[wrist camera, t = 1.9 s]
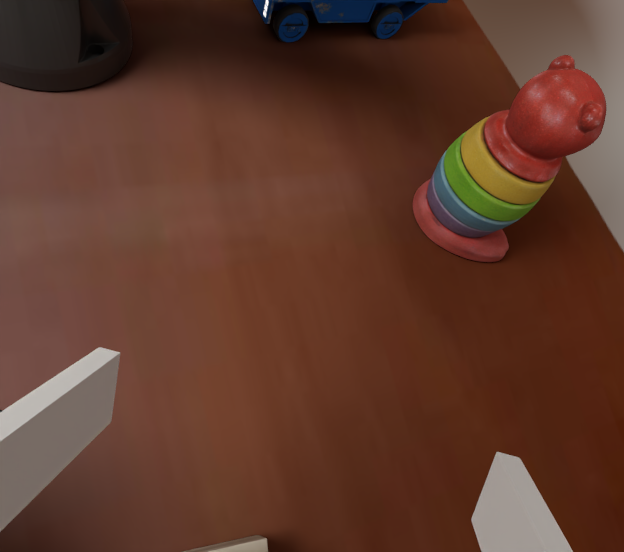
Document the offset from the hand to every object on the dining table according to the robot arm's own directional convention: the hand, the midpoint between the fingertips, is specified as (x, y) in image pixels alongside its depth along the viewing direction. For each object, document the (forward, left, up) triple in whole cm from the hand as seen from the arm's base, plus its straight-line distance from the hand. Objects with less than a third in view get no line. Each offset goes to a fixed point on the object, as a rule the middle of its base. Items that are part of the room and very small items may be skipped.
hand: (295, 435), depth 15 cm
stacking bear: (-21, +25, -18) cm, 37 cm away
